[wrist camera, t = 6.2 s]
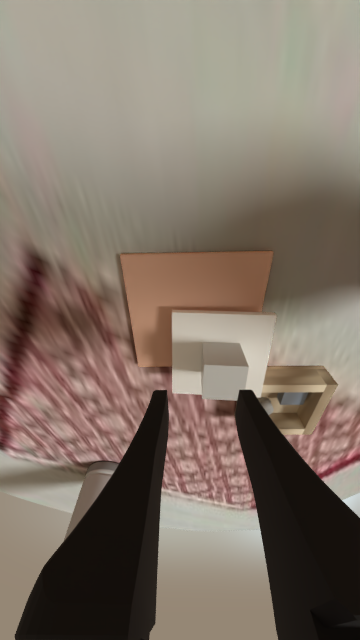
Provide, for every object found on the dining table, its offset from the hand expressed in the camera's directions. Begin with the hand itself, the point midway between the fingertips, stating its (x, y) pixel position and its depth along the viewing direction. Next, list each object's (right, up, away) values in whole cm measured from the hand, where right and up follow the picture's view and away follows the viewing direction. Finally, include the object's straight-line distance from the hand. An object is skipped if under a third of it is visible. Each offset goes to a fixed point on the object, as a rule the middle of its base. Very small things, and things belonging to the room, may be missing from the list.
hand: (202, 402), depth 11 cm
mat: (0, +5, +7) cm, 9 cm away
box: (+9, -4, +13) cm, 16 cm away
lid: (+2, +1, +7) cm, 8 cm away
